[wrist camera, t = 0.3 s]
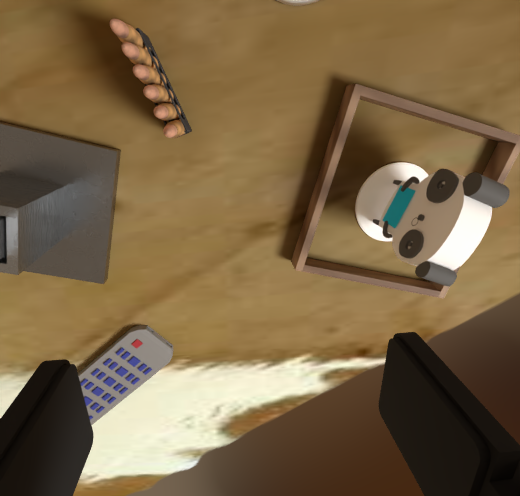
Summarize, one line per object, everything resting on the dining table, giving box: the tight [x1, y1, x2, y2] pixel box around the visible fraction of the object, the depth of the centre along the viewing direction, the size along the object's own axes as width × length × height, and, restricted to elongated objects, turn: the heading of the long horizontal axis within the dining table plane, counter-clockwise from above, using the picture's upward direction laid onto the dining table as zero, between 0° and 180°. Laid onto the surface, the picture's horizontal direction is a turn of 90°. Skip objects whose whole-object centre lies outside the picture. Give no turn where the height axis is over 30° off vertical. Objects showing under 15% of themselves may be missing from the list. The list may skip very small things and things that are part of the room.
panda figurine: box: [355, 162, 509, 286], centre depth 40 cm, size 12×11×15 cm
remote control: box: [78, 325, 173, 425], centre depth 53 cm, size 8×23×2 cm, turn 130°
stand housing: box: [0, 121, 121, 284], centre depth 37 cm, size 18×18×12 cm
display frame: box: [291, 84, 520, 298], centre depth 45 cm, size 24×24×3 cm
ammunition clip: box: [110, 19, 192, 138], centre depth 33 cm, size 11×2×12 cm, turn 22°
